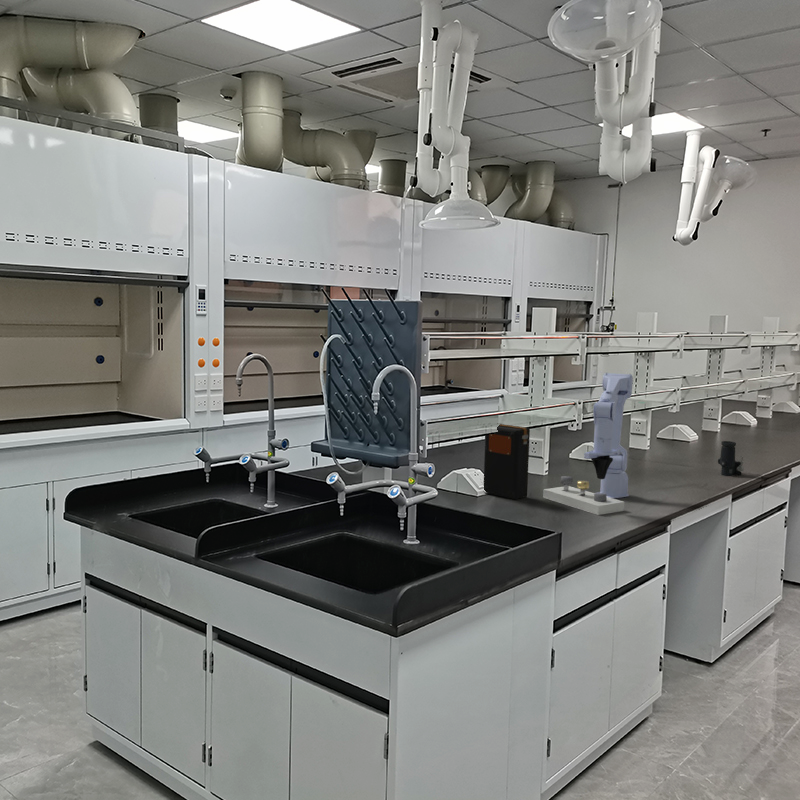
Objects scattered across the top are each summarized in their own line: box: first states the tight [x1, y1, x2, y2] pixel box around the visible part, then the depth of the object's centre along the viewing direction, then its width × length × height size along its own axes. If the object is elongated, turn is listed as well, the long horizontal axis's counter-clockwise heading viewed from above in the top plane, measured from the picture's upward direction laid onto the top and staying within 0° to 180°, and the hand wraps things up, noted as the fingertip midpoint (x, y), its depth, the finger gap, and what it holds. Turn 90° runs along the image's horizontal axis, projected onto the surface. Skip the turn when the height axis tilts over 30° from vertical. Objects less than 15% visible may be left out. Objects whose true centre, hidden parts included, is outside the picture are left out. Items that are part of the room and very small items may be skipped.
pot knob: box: [576, 480, 590, 496], centre depth 251 cm, size 4×4×5 cm
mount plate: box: [542, 485, 625, 516], centre depth 251 cm, size 12×26×3 cm, turn 31°
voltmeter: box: [483, 423, 531, 500], centre depth 261 cm, size 16×9×25 cm, turn 45°
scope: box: [717, 440, 745, 477], centre depth 306 cm, size 8×14×10 cm
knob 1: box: [560, 475, 573, 491], centre depth 258 cm, size 4×4×5 cm
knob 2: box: [594, 492, 607, 502], centre depth 245 cm, size 4×4×5 cm
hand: (600, 478), depth 244 cm, fingers closed
